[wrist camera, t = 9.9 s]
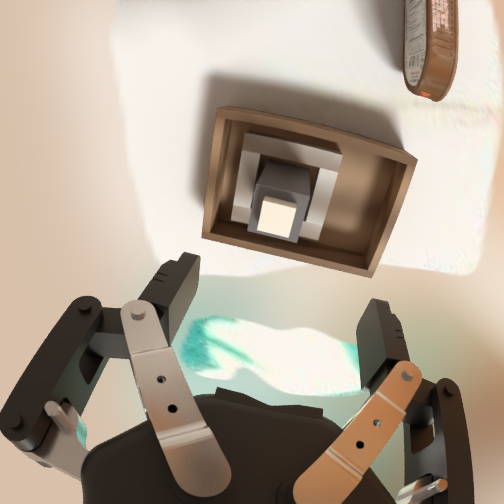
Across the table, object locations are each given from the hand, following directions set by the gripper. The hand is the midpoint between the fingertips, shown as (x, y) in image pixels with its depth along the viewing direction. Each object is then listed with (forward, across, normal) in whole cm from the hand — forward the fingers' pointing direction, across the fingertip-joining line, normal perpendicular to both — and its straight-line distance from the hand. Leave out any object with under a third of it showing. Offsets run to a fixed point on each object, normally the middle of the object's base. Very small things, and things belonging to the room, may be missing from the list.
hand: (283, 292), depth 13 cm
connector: (+18, +1, +1) cm, 18 cm away
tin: (+20, -8, -18) cm, 28 cm away
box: (+19, -1, +1) cm, 19 cm away
